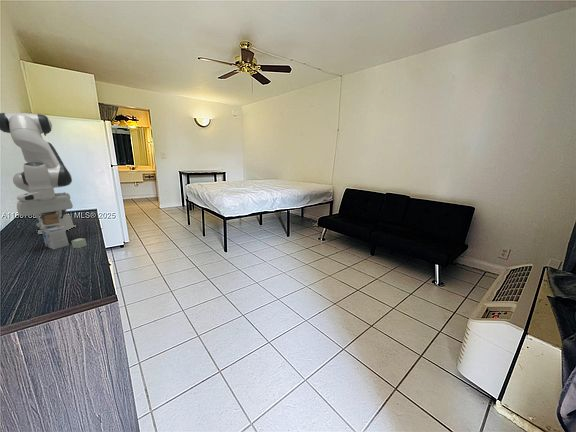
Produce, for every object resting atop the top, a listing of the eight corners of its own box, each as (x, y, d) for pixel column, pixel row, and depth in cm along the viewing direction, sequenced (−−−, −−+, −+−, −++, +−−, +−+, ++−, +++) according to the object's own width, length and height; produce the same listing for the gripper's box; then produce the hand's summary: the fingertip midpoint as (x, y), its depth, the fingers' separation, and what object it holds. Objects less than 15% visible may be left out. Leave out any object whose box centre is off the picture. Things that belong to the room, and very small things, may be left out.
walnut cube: (43, 224, 122) (40, 214, 121) (55, 221, 126) (53, 212, 125) (46, 225, 120) (44, 215, 118) (59, 222, 124) (56, 213, 123)
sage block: (73, 247, 123) (71, 240, 122) (80, 245, 127) (78, 238, 126) (79, 248, 122) (77, 241, 121) (86, 245, 126) (85, 238, 125)
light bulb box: (45, 246, 126) (39, 227, 123) (61, 242, 132) (56, 224, 129) (53, 249, 121) (47, 230, 118) (69, 245, 127) (64, 226, 124)
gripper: (66, 191, 129) (72, 215, 133) (11, 197, 112) (20, 224, 116) (71, 192, 127) (77, 216, 130) (16, 198, 109) (25, 226, 113)
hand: (50, 220), depth 123 cm, fingers closed on walnut cube, 5 cm apart
